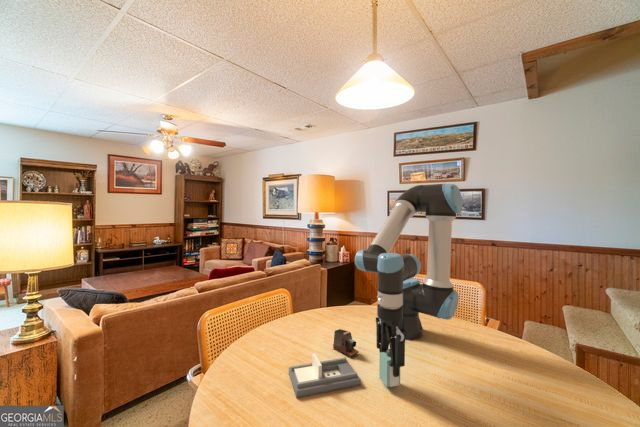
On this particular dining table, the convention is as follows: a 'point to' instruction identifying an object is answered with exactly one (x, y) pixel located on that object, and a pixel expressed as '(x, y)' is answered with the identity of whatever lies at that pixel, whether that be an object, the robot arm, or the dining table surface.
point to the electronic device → (344, 343)
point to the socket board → (326, 378)
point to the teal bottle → (385, 367)
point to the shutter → (309, 371)
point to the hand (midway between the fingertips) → (389, 379)
